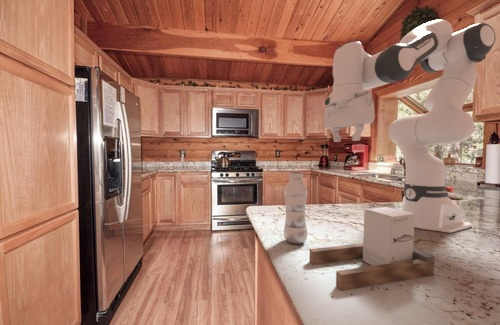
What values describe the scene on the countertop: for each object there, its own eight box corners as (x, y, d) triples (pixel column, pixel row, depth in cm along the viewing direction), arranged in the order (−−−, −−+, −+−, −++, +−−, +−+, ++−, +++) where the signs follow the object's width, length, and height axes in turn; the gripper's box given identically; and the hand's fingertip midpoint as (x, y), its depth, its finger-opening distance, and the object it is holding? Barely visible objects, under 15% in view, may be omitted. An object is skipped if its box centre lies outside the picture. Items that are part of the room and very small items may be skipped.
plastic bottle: (302, 248, 64) (303, 174, 63) (279, 243, 68) (280, 172, 67) (310, 240, 70) (311, 172, 69) (288, 236, 73) (289, 171, 72)
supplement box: (389, 276, 50) (391, 216, 50) (361, 260, 57) (363, 208, 56) (414, 269, 53) (416, 213, 52) (384, 255, 60) (385, 205, 59)
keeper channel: (388, 251, 62) (388, 236, 62) (434, 275, 51) (434, 256, 50) (309, 261, 57) (309, 245, 56) (340, 290, 45) (341, 269, 45)
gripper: (381, 89, 66) (379, 139, 66) (336, 103, 86) (335, 142, 86) (361, 87, 64) (360, 139, 65) (320, 102, 84) (320, 142, 85)
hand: (346, 141), depth 76 cm, fingers open, 8 cm apart
